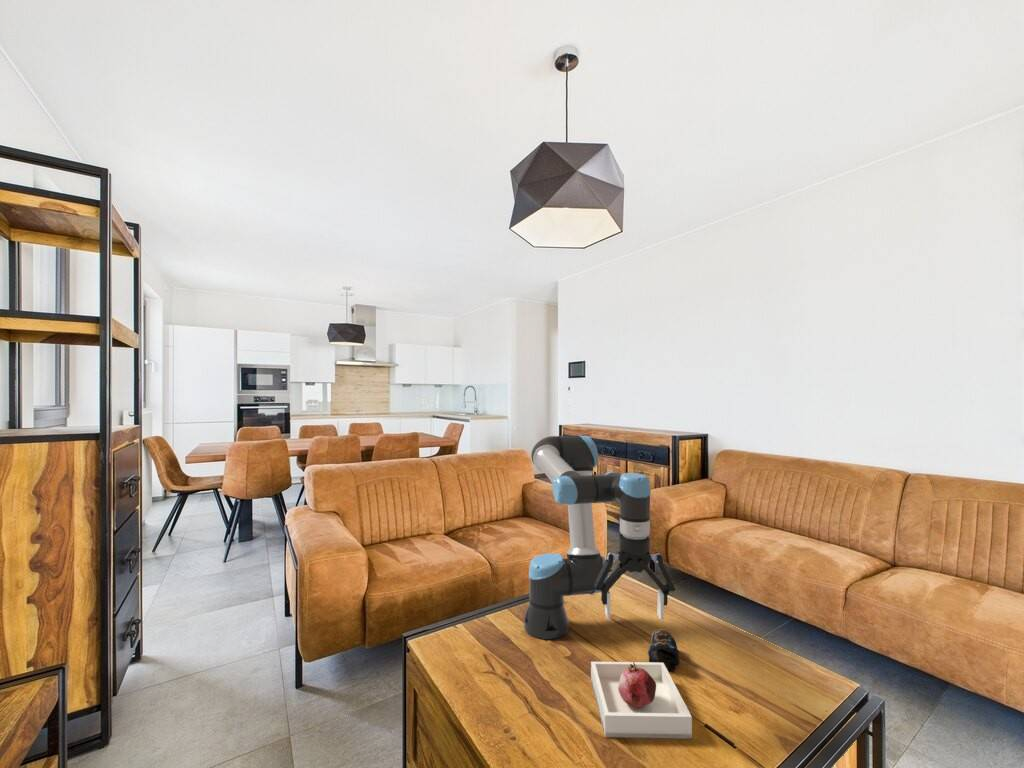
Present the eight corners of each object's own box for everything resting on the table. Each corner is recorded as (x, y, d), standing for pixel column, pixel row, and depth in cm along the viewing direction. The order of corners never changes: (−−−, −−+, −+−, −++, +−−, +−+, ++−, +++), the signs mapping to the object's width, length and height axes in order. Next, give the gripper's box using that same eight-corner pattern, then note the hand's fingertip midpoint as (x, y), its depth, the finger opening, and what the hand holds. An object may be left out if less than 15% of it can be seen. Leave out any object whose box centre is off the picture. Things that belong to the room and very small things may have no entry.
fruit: (663, 703, 111) (663, 663, 111) (642, 722, 104) (642, 680, 105) (631, 684, 118) (631, 647, 118) (610, 701, 111) (610, 662, 111)
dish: (605, 737, 101) (605, 715, 101) (591, 679, 121) (591, 661, 121) (691, 738, 101) (691, 716, 101) (663, 680, 121) (663, 662, 121)
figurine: (644, 650, 125) (647, 618, 139) (652, 678, 125) (655, 643, 139) (675, 649, 122) (675, 616, 136) (683, 677, 122) (683, 642, 136)
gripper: (588, 539, 109) (587, 623, 109) (688, 540, 109) (688, 625, 109) (584, 529, 117) (583, 608, 117) (677, 530, 116) (677, 609, 116)
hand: (634, 616), depth 113 cm, fingers open, 13 cm apart
